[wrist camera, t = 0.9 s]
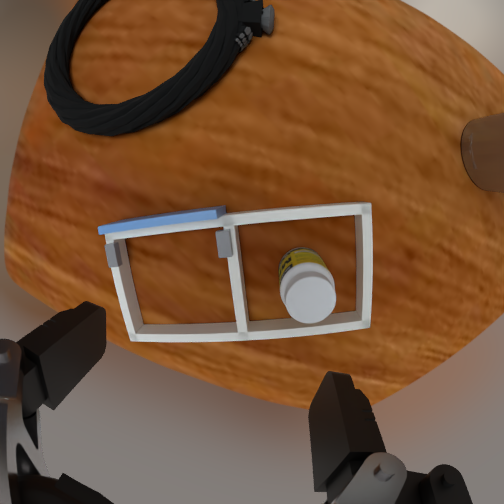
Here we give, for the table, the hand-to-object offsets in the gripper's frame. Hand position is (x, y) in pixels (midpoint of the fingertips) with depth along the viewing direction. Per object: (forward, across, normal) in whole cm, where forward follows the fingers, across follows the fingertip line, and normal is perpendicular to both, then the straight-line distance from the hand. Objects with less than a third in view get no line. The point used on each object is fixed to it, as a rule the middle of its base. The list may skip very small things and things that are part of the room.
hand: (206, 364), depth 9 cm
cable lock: (+21, +18, -22) cm, 35 cm away
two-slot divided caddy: (+20, +1, +4) cm, 21 cm away
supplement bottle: (+21, -5, +2) cm, 22 cm away
